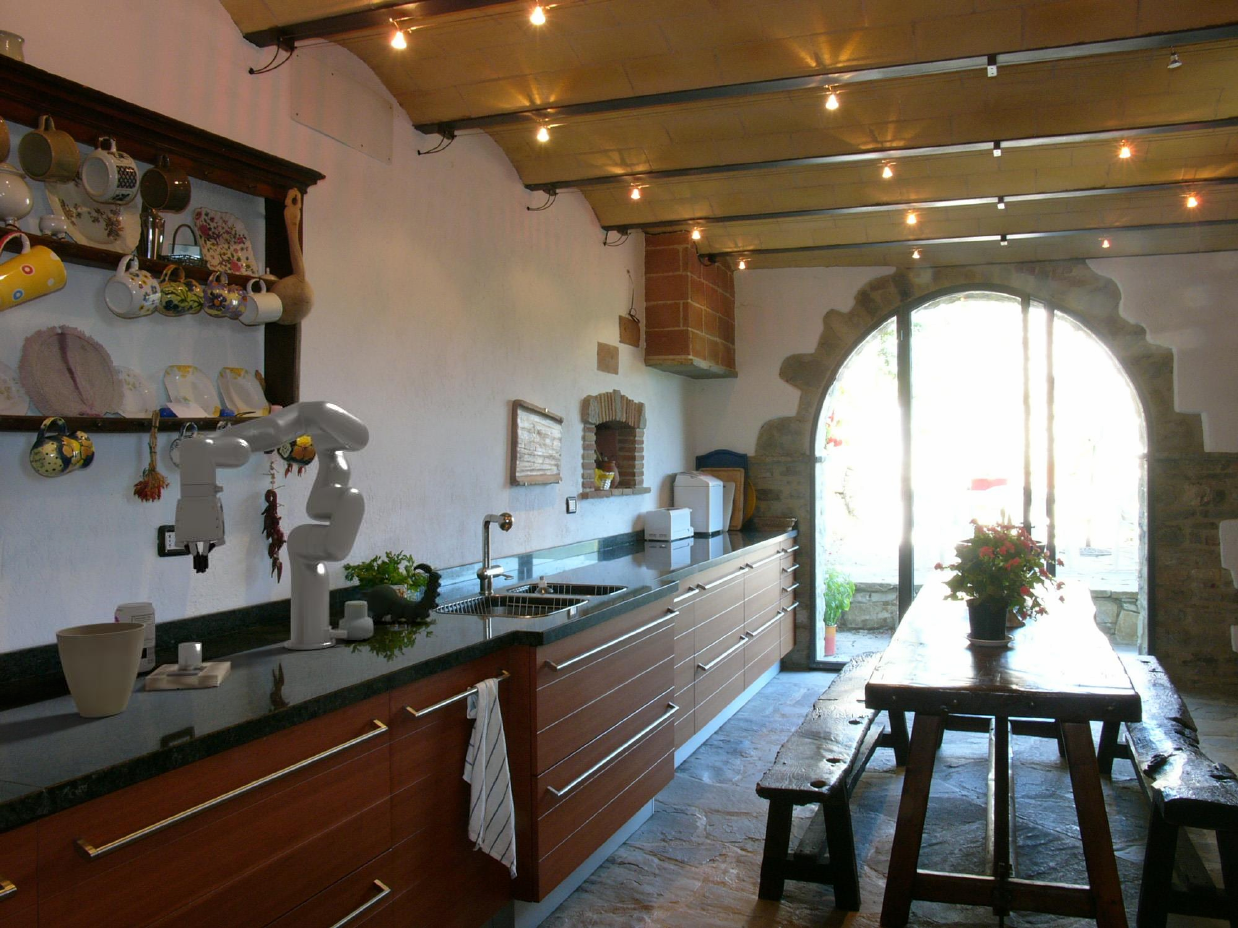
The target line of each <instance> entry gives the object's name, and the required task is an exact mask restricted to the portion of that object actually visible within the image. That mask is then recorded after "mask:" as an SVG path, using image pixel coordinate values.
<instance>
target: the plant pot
mask: <svg viewBox="0 0 1238 928" xmlns="http://www.w3.org/2000/svg"><path fill="white" fill-rule="evenodd" d="M145 630H146V624H144V623H137V622H115V621H114V622H100V623H89V624H83V625H76V626H71V627H66V628H62V629H60V630H59V629H58V630H57V631H55V636H56V638H55V639H56V642H57V648H58V649H57V650H58V654H59V658H60V663H61V666H62V669H63V673H64V677H65V680H66V683H67V686H68V687H67V688H68V689H69V692H70V694H71V697H72V700H73V703H74V704H75V707H76V708H77V712H78V713H79V715H80V716H81V717H83V718H102V717H110V716H115V715H117V714H121V713H122V712H125V710H126V708H127V705H128V704H129V700H130V698H131V694H132V693H133V688H134V685H135V682H136V679H137V676H138V673H137V672H138V668H139V664H140V660H141V655H142V650H143V644H144V637H145Z"/></svg>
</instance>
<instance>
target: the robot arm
mask: <svg viewBox="0 0 1238 928" xmlns="http://www.w3.org/2000/svg"><path fill="white" fill-rule="evenodd" d="M305 436H309V437H310V442H311V444H312V448H313V449H314V452H315V454H316V457H317V461H318V468H317V469H318V470H317V473H316V476H315V478H314V482H313V484H312V486H311V490H310V492H309V494H308V495H309V496H308V498H307V501H306V505H305V512H306V515H307V517H308V518H309V519H310V520H313V521H315V522H320V523H304V524H300V525H296V526H295V527H293V528H292V529H291V531H290V532H289V533H288V535H287V539H286V552H287V557H288V561H289V567H290V639H289V640H287V641H285V642H284V648H285V649H289V650H297V651H305V650H308V651H309V650H318V649H319V650H321V649H325V648H327V649H328V648H329V647H333V646H335V645H336V639H342V638H347V630H345V631H343V630H339V629H338V630H335V629H332V625H330V573H329V569H328V568H327V565H326V563H328V562H329V563H336V562H337V563H338V562H342V561H343V560H345V559H347V557H348V556H349V555H350V554H351V552H352V550H353V547H354V545H355V541H356V539H357V536H358V533H359V531H360V527H361V525H362V521H363V520H364V519H363V518H364V515H365V511H366V510H365V509H366V505H365V504H366V502H365V499H364V495H363V494H362V492H361V491H360V490H359V489H357V488H355V487H352V486H349V484H350V479H351V475H352V474H351V473H352V470H351V467H350V464H349V461H348V458H347V456H346V455H345V454H346V453H350V452H351V453H352V452H354V453H355V452H359V451H362V450H363V449H365V448H366V447H367V445H368V443H369V440H370V431H369V429H368V428H367V425H366V424H365V423H364V422H363V421H362V420H361V419H359V418H358V417H356V416H354V415H353V414H351V413H350V412H348V411H346V410H345V409H343V408H342V407H340V406H338V405H336V404H335V403H332V402H330V401H325V400H315V401H301V402H300V401H299V402H296V403H295V402H294V403H293V404H290V405H288V406H286V407H283V408H281V409H279V410H275V411H274V412H272V413H268V414H266V415H264V416H261V417H258V418H254V419H251V420H247V421H245V422H242V423H241V422H240V423H238V424H235V425H231V426H227V427H225V428H221V429H219V430H217V431H214V432H212V433H209V434H206V435H204V436H202V437H189V438H188V437H187V438H184V439H181V440H180V442H179V444H178V459H179V460H178V462H179V463H178V464H179V487H180V488H179V490H180V492H179V493H180V496H179V497H180V498H178V499H176V500H177V501H176V505H175V506H176V507H175V514H174V515H175V516H174V539H175V541H174V543H173V547H174V548H176V549H177V548H178V549H184V550H186V551H187V552H188V553H189V554H190V555H191V556H192V561H193V562H192V567H193V570H195V572H196V573H195V574H200V573H201V574H205V573H206V572H207V570H208V569H209V566H210V565H209V563H210V561H209V554H210V553H211V552H213V550H214V549H215V548H219V547H222V546H224V545H226V543H227V542H226V539H225V535H226V526H225V516H224V515H225V514H224V508H223V502H222V499H221V496H217V495H218V494H219V493H224V486H220V485H217V484H218V483H217V471H216V470H217V469H222V470H224V469H225V470H226V469H227V470H228V469H239V468H241V467H243V466H245V465H247V464H248V463H249V461H250V459H251V455H252V453H261V452H262V453H263V452H268V451H272V450H277V449H279V448H281V447H283V446H286V445H287V444H290V443H291V442H293V441H296V440H298V439H301V438H303V437H305ZM321 523H322V524H321ZM323 523H328V524H323ZM198 543H203V545H202V552H200V550H199V544H198ZM325 562H326V563H325Z"/></svg>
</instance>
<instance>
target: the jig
mask: <svg viewBox="0 0 1238 928" xmlns="http://www.w3.org/2000/svg"><path fill="white" fill-rule="evenodd" d="M231 665H232V663H231V661H214V662H212V661H211V662H202V672H200V670H195V671H178V663H171V664H170V663H169V664H168V663H167V664H163V665H161V666H160V667H158V668H157V669H155V670H154V671H153V672H151V673H150V674H149V675H148V676H146V677H145V690H146V691H154V690H176V689H177V688H179V689H193V688H194V689H196V688H214V687H213V686H218V687H219V686H220V685H221V684H222V683H221V682H222V681H223V682H224V680H226V678H227V677H228V676H229V675H230V674H231V673H232V670H231V667H232V666H231ZM229 673H230V674H229ZM220 683H221V684H220ZM219 684H220V685H219Z"/></svg>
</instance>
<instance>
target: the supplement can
mask: <svg viewBox="0 0 1238 928" xmlns="http://www.w3.org/2000/svg"><path fill="white" fill-rule="evenodd" d="M114 622H137V623H144V624H146V630H145V637H144V644H143V650H142V655H141V660H140V664H139V668H138V672H137V674H138V673H143V672H149V671H151V670H153V668H154V667H155V666H156V609H155V608H154V606H153V603H152V602H144V601H143V602H142V601H141V602H128V603H121V604H118V605H117V607H116V609H115V611H114Z"/></svg>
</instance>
